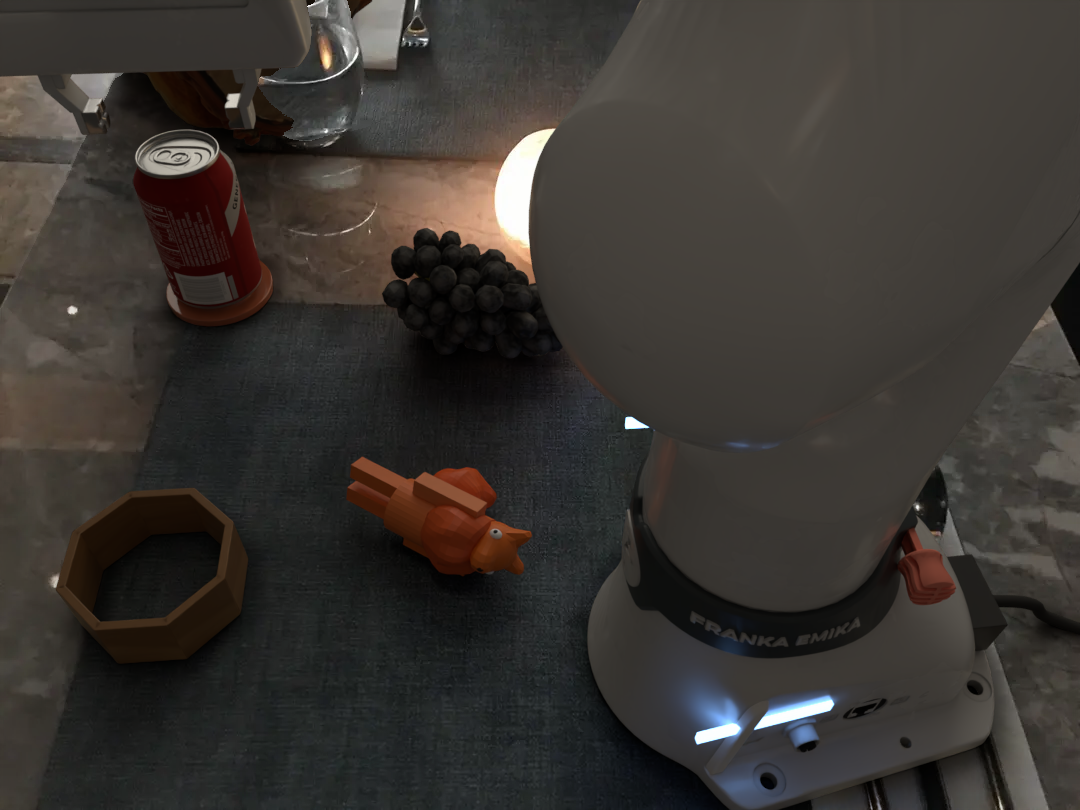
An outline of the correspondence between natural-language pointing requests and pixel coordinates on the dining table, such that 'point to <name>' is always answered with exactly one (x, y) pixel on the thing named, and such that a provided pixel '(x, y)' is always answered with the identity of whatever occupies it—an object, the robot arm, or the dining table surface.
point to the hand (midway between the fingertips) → (170, 127)
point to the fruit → (467, 298)
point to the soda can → (197, 218)
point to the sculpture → (223, 97)
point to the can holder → (124, 531)
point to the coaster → (225, 313)
